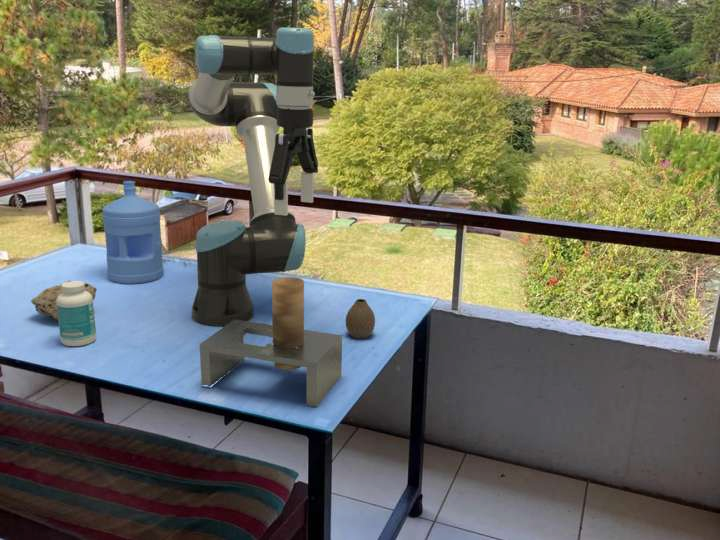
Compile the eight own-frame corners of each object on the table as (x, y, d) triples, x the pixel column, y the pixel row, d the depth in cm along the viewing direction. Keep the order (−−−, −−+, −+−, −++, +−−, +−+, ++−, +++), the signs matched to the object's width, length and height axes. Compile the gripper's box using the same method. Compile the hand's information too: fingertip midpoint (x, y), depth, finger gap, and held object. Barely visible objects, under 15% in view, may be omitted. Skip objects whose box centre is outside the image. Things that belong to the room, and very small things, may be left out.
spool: (268, 367, 129) (266, 284, 124) (280, 355, 134) (279, 275, 129) (296, 372, 127) (296, 288, 122) (308, 360, 133) (308, 279, 128)
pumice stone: (80, 303, 173) (77, 273, 171) (107, 313, 166) (105, 283, 164) (28, 318, 162) (24, 287, 160) (55, 329, 156) (51, 297, 153)
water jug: (123, 267, 204) (116, 176, 196) (172, 270, 202) (167, 178, 194) (97, 282, 189) (88, 184, 181) (150, 286, 187) (143, 187, 179)
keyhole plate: (201, 386, 130) (199, 344, 127) (235, 358, 143) (234, 319, 140) (316, 407, 123) (316, 363, 121) (341, 376, 136) (342, 335, 133)
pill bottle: (100, 343, 149) (95, 285, 145) (65, 350, 145) (58, 291, 141) (91, 332, 155) (86, 276, 151) (57, 339, 150) (51, 282, 146)
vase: (364, 343, 152) (365, 307, 150) (339, 336, 156) (340, 301, 153) (380, 334, 158) (381, 299, 155) (355, 327, 161) (356, 293, 159)
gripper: (285, 112, 125) (285, 222, 132) (333, 104, 147) (331, 198, 154) (250, 110, 127) (251, 218, 134) (302, 102, 150) (301, 195, 156)
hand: (294, 208), depth 144 cm, fingers open, 13 cm apart
